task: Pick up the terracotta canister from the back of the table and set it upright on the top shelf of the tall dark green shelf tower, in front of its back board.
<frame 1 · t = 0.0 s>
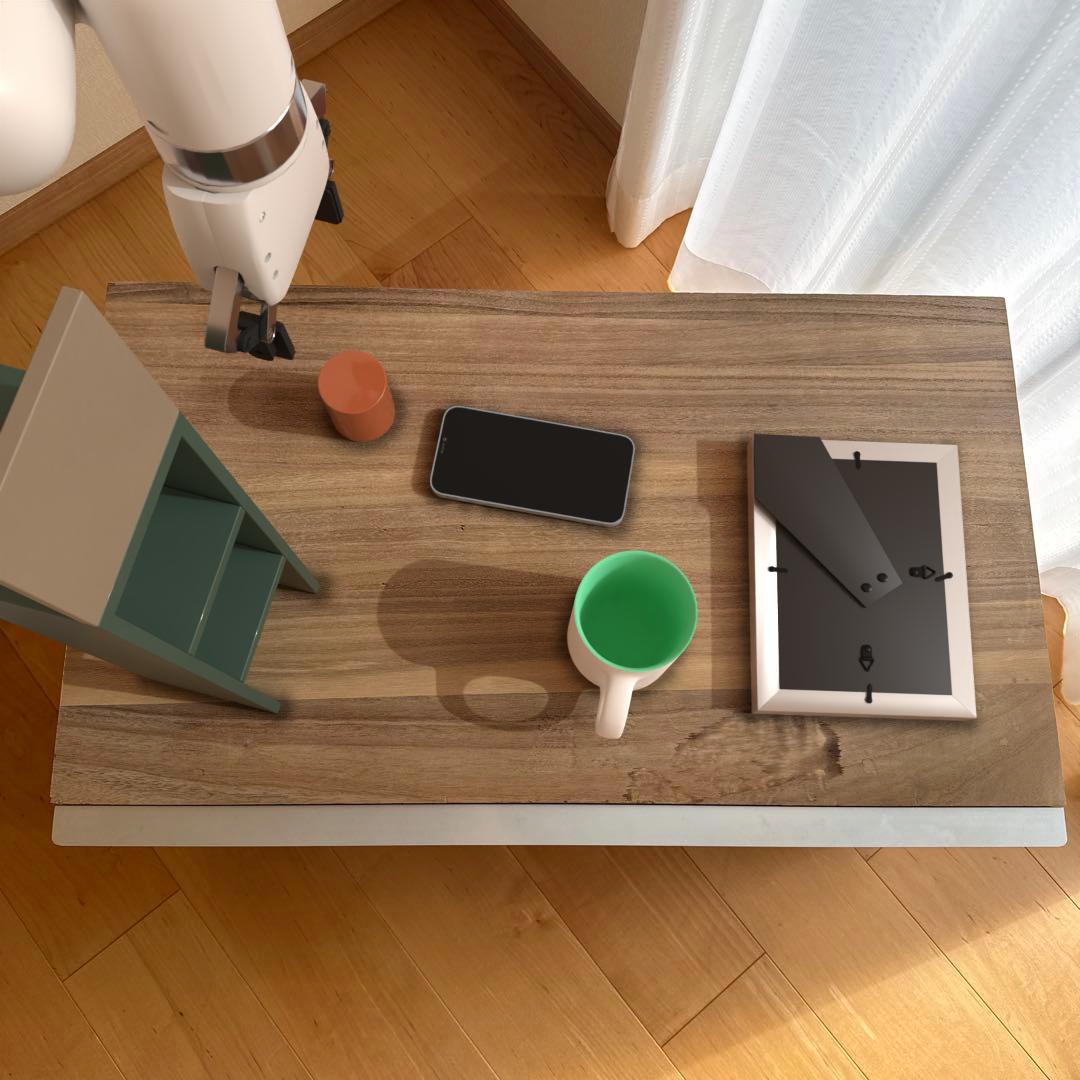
hand: (295, 281, 68), 18 cm above the table, tool pointing down, fingers open, 9 cm apart
mug: (617, 664, 81), on the table
shelf: (234, 630, 80), on the table
smartphone: (532, 468, 84), on the table
canister: (363, 412, 85), on the table
picture frame: (851, 579, 83), on the table
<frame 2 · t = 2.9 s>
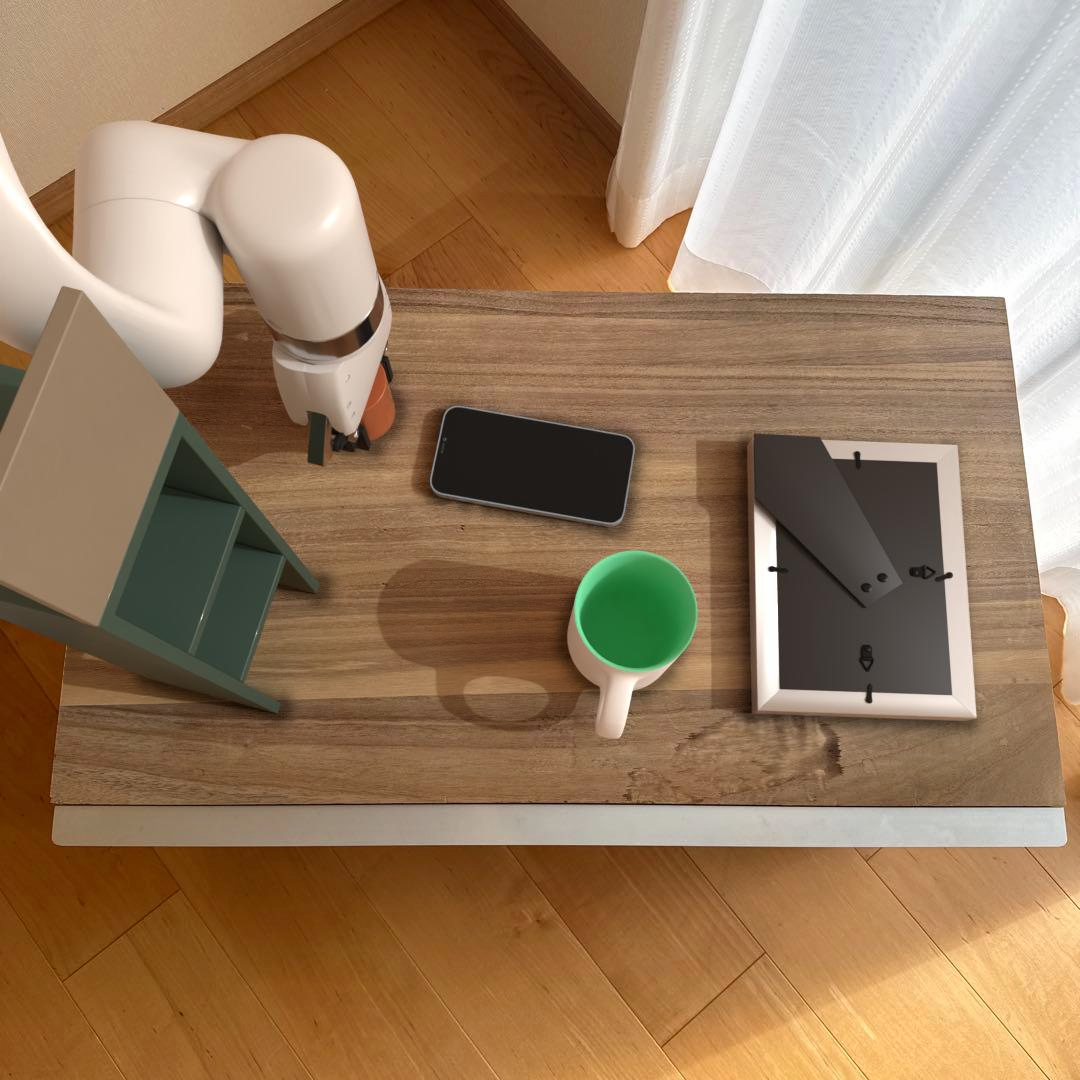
hand: (361, 408, 84), 1 cm above the table, tool pointing down, fingers closed on canister, 5 cm apart
canister: (363, 412, 85), on the table, touching gripper
everything else where it was.
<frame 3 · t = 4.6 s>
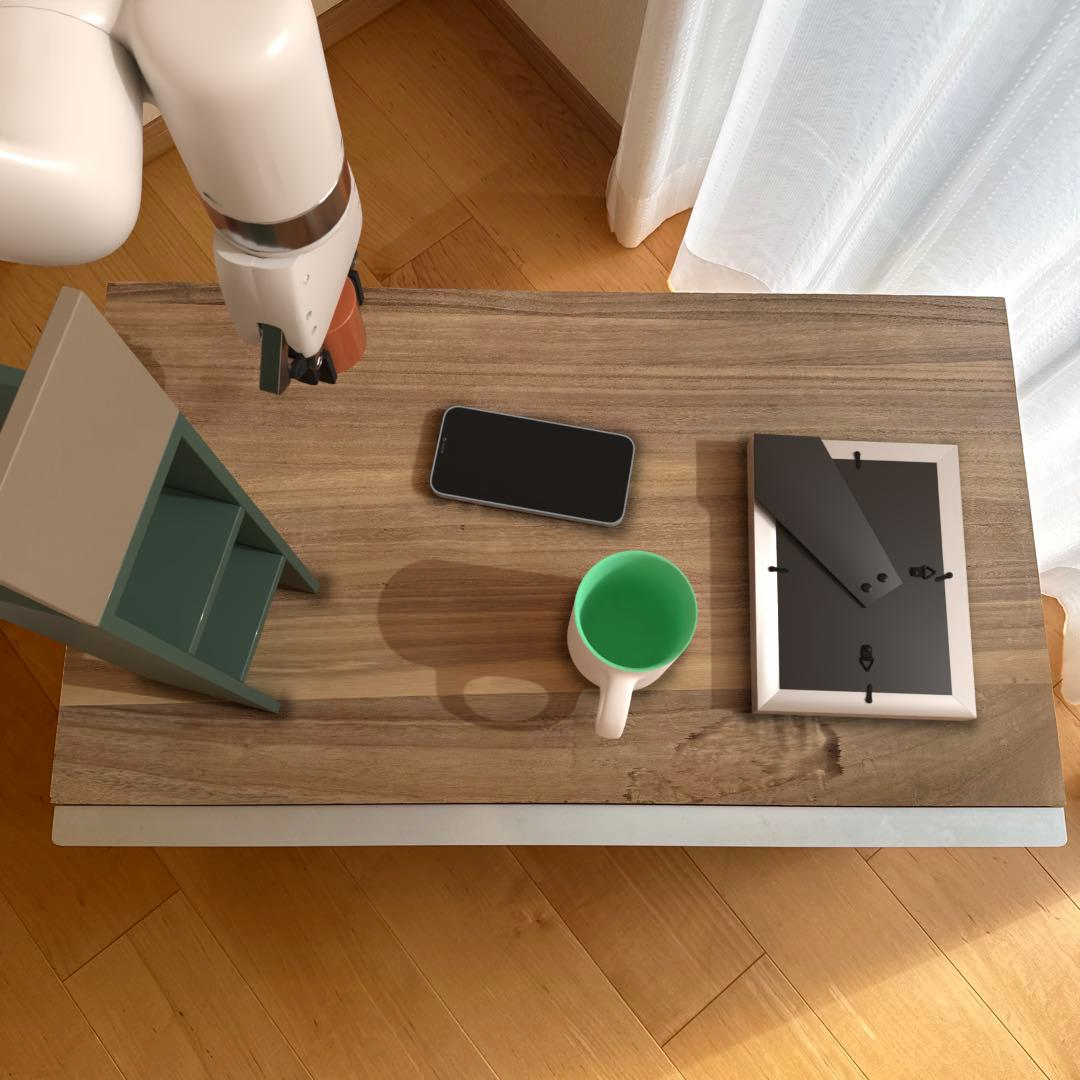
hand: (327, 335, 72), 14 cm above the table, tool pointing down, fingers closed on canister, 5 cm apart
canister: (329, 340, 73), point 13 cm above the table, touching gripper
everything else where it was.
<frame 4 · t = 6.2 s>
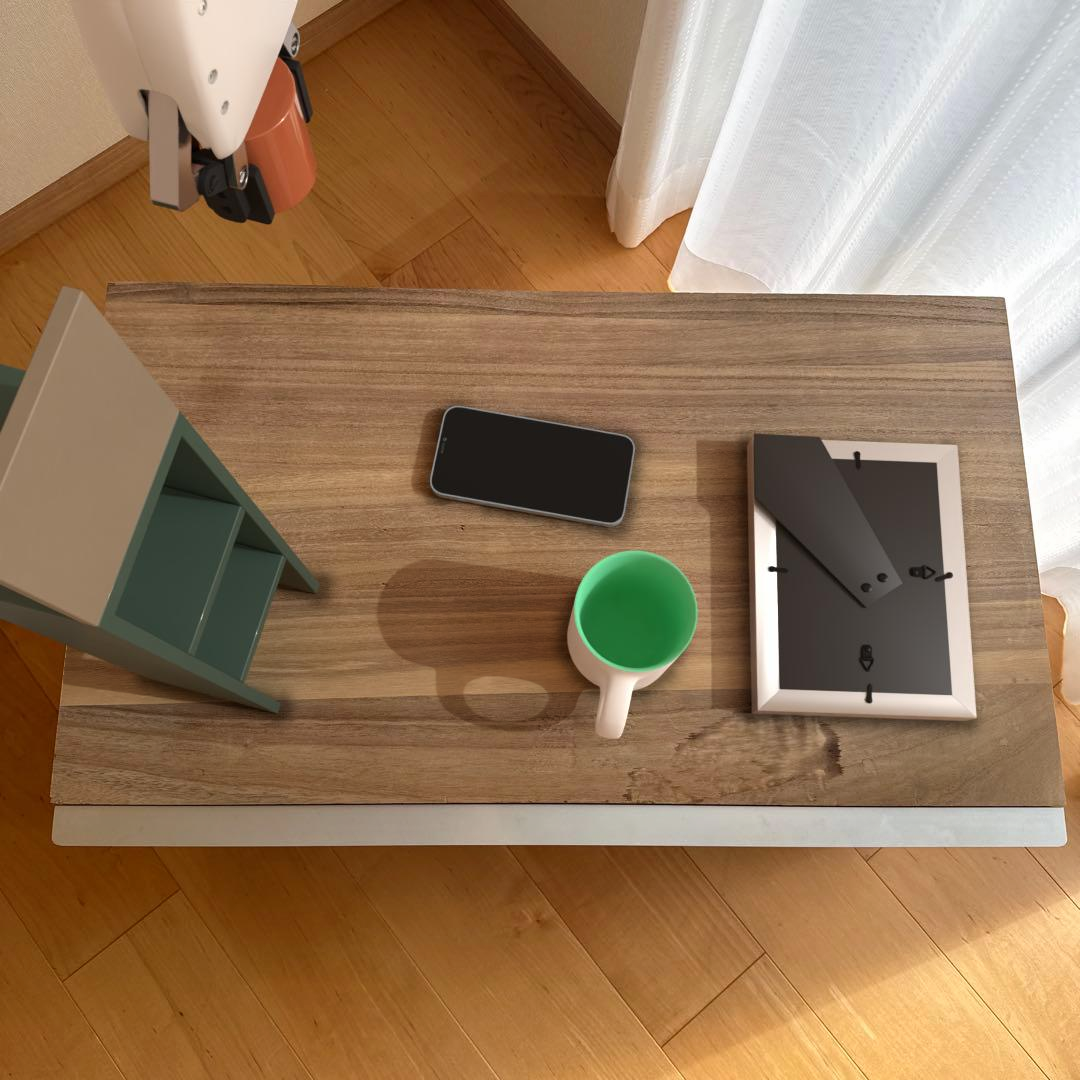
hand: (261, 160, 53), 33 cm above the table, tool pointing down, fingers closed on canister, 5 cm apart
canister: (266, 170, 54), point 32 cm above the table, touching gripper
everything else where it was.
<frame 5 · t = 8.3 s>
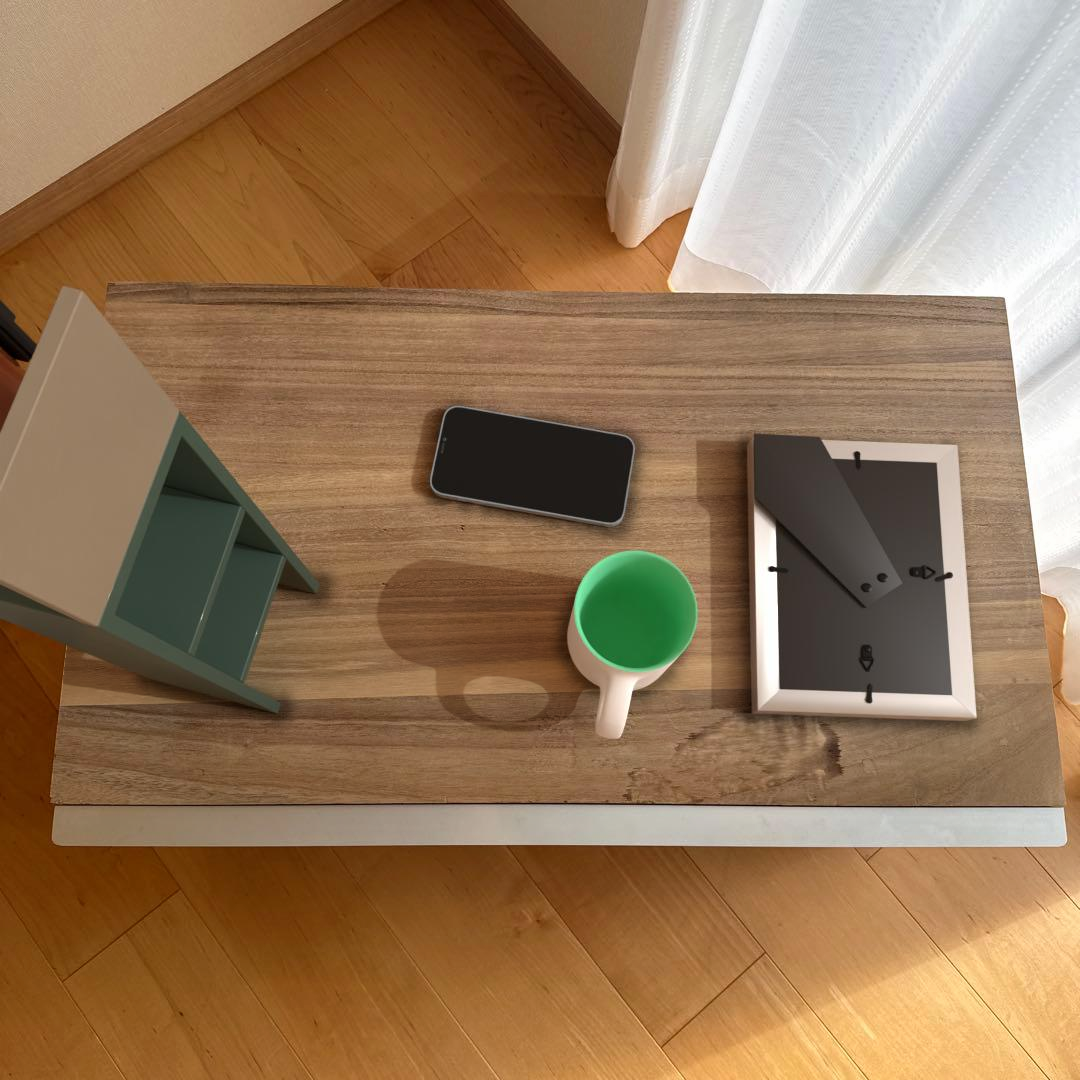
when the fingers open (36 cm above the table, at t = 9.8 s): canister stays where it is, resting on shelf.
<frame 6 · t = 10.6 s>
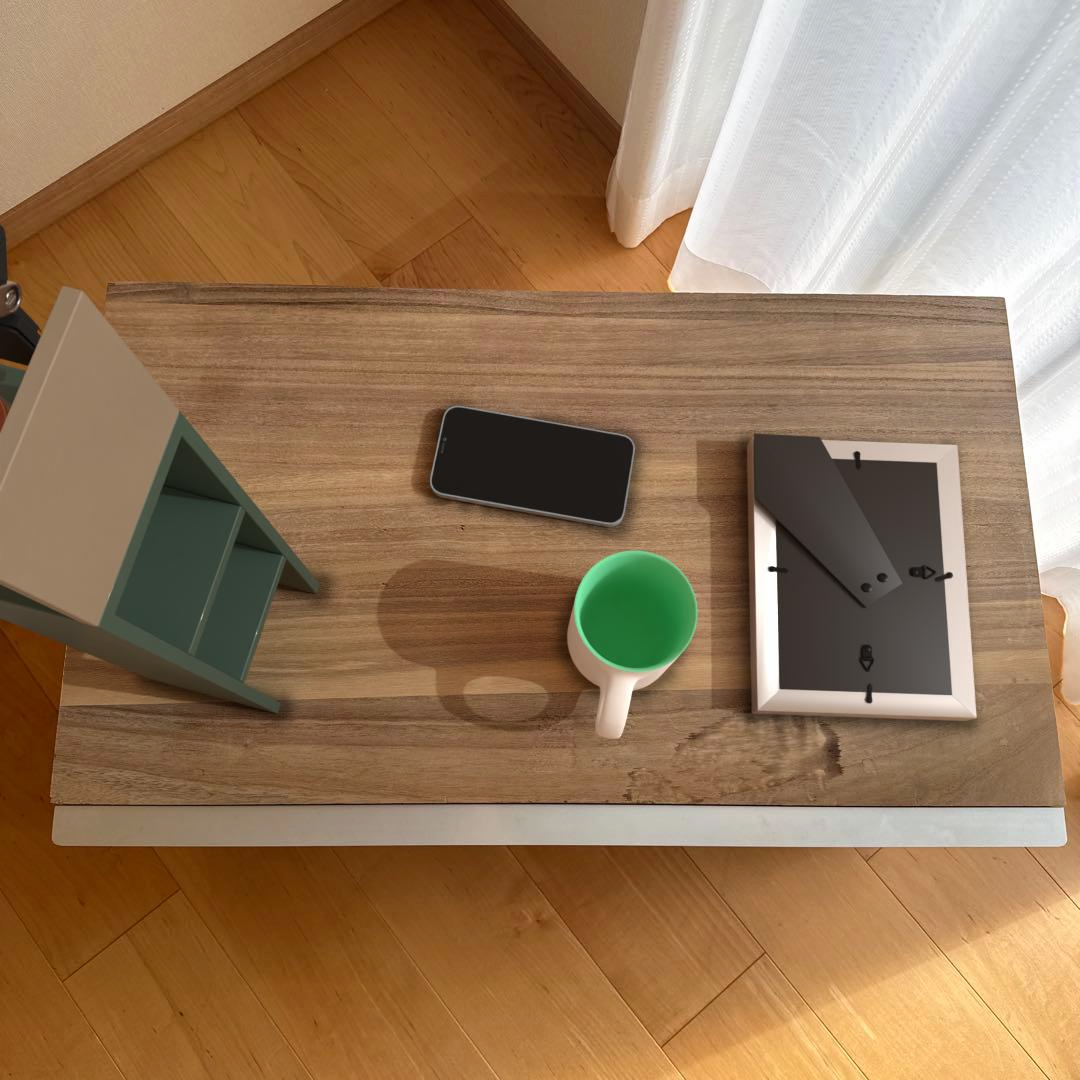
canister: (10, 481, 47), point 35 cm above the table, touching shelf
everything else where it was.
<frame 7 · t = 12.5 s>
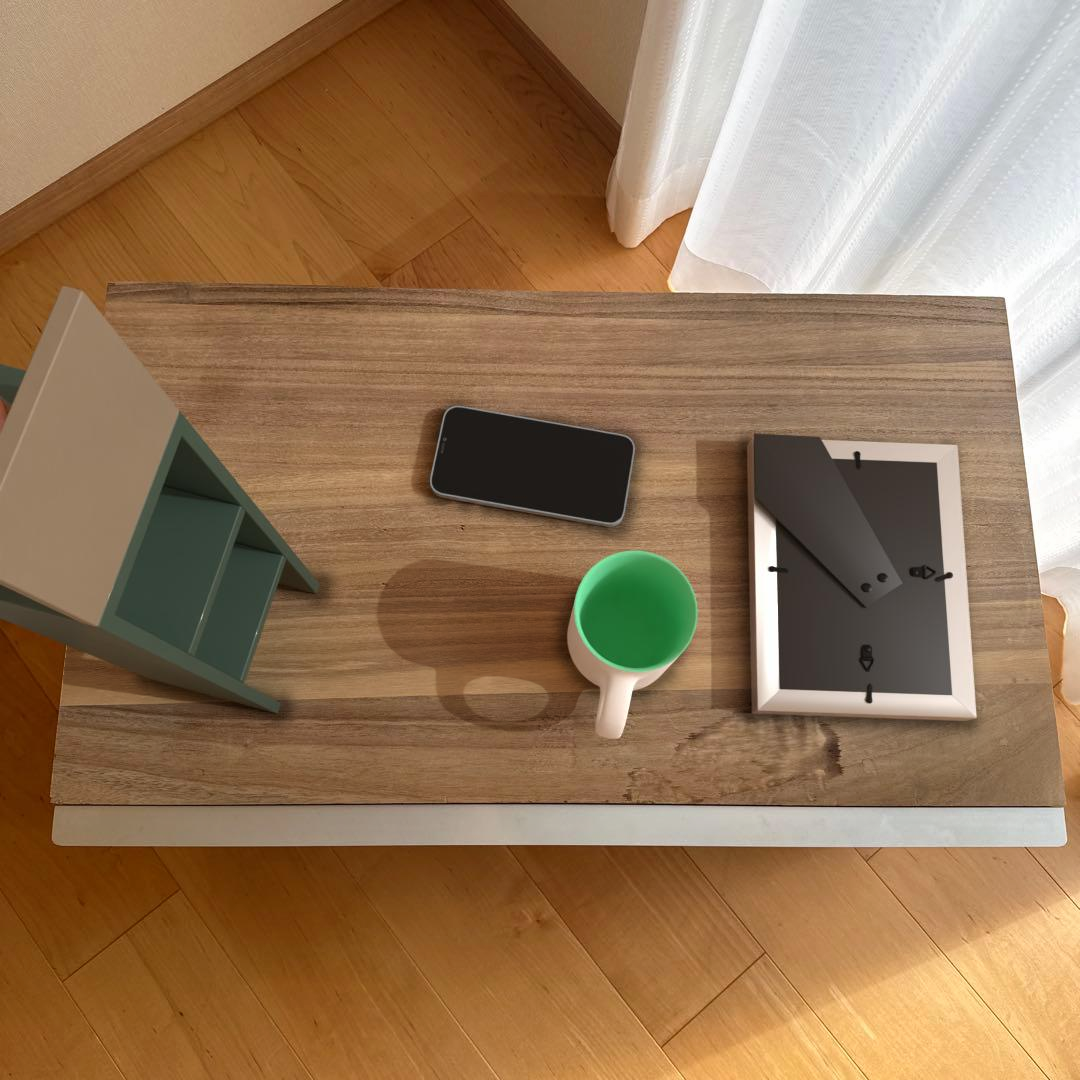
nothing on the table moved.
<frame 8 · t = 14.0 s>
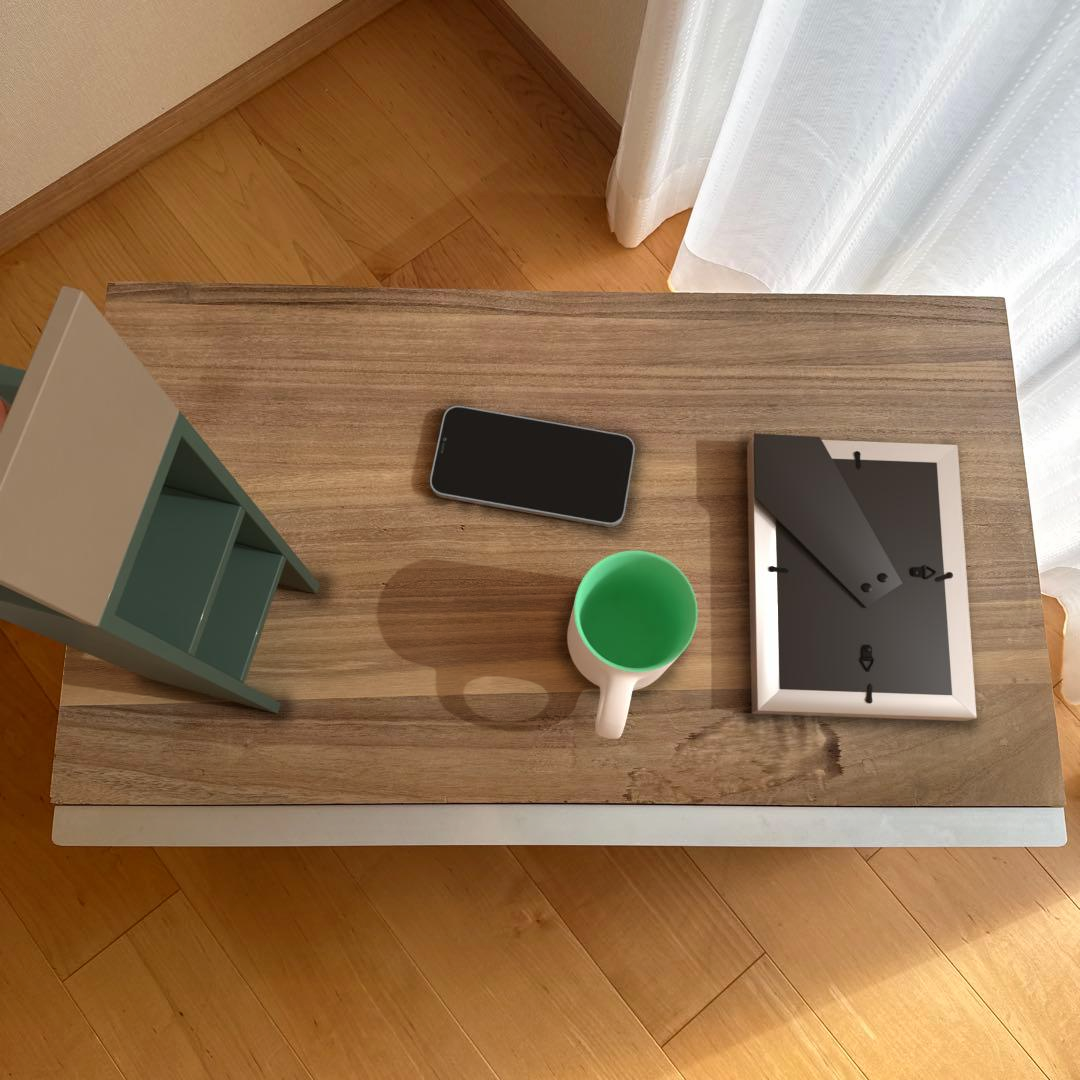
nothing on the table moved.
at the end: canister inside the target area on the shelf (0.9 cm from its centre), point 35.0 cm above the shelf's base; canister tilted 0° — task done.
